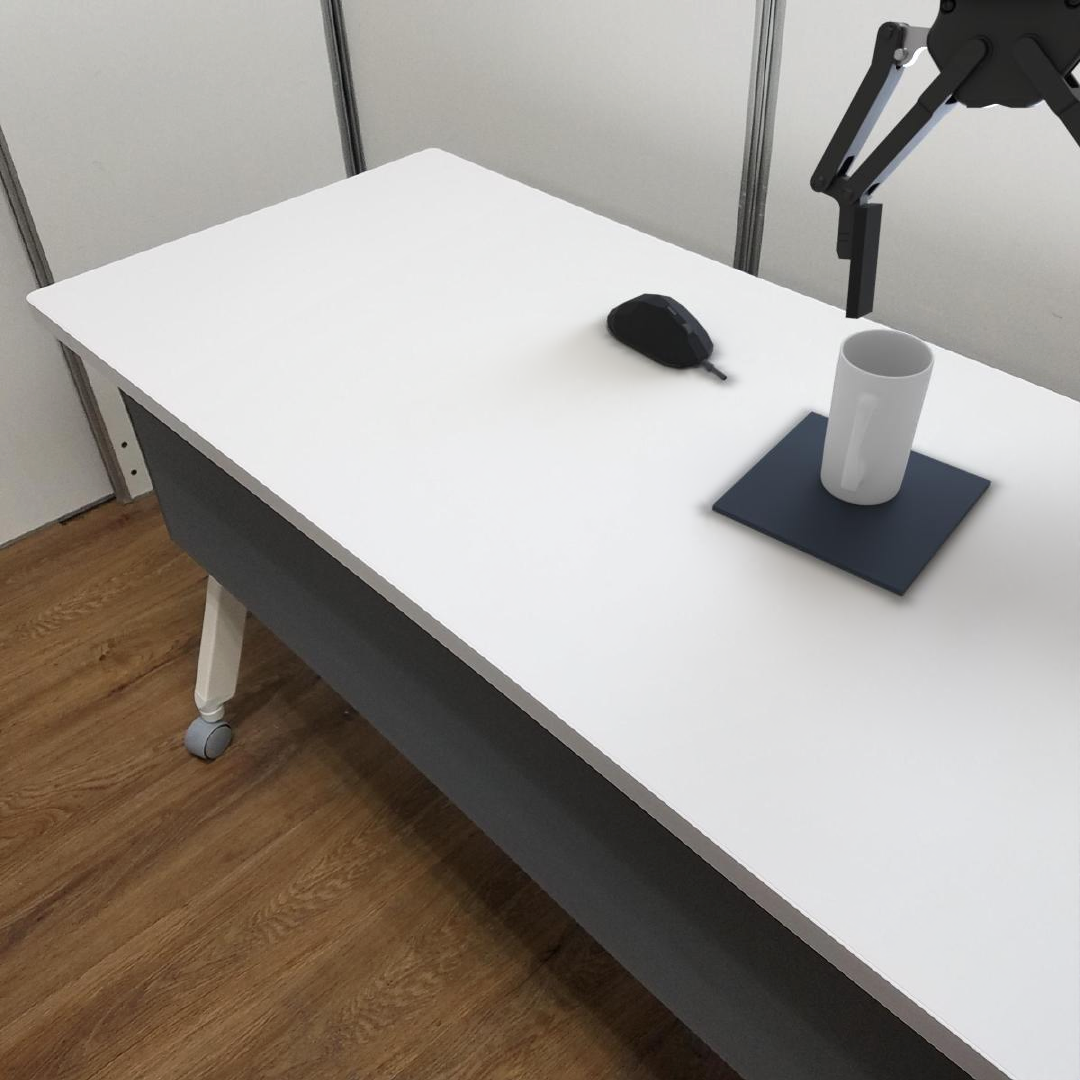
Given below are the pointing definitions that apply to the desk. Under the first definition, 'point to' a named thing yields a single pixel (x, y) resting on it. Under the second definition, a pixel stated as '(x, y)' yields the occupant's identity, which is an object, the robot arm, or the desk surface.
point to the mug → (874, 414)
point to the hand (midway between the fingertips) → (972, 326)
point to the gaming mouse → (662, 331)
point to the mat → (852, 509)
